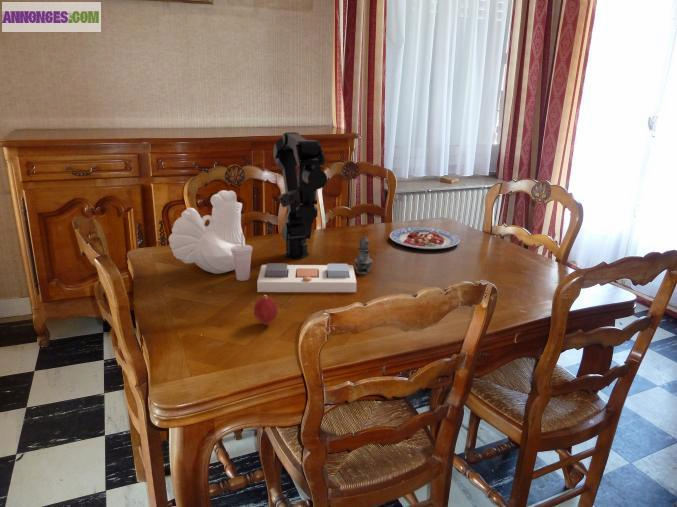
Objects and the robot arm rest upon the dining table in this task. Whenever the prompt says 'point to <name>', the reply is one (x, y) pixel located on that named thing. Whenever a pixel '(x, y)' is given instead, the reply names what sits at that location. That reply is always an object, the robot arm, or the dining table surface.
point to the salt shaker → (363, 257)
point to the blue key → (337, 271)
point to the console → (306, 281)
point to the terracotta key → (307, 272)
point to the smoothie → (242, 260)
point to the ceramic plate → (424, 238)
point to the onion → (265, 310)
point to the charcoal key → (276, 270)
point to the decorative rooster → (209, 234)
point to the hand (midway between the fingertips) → (307, 232)
